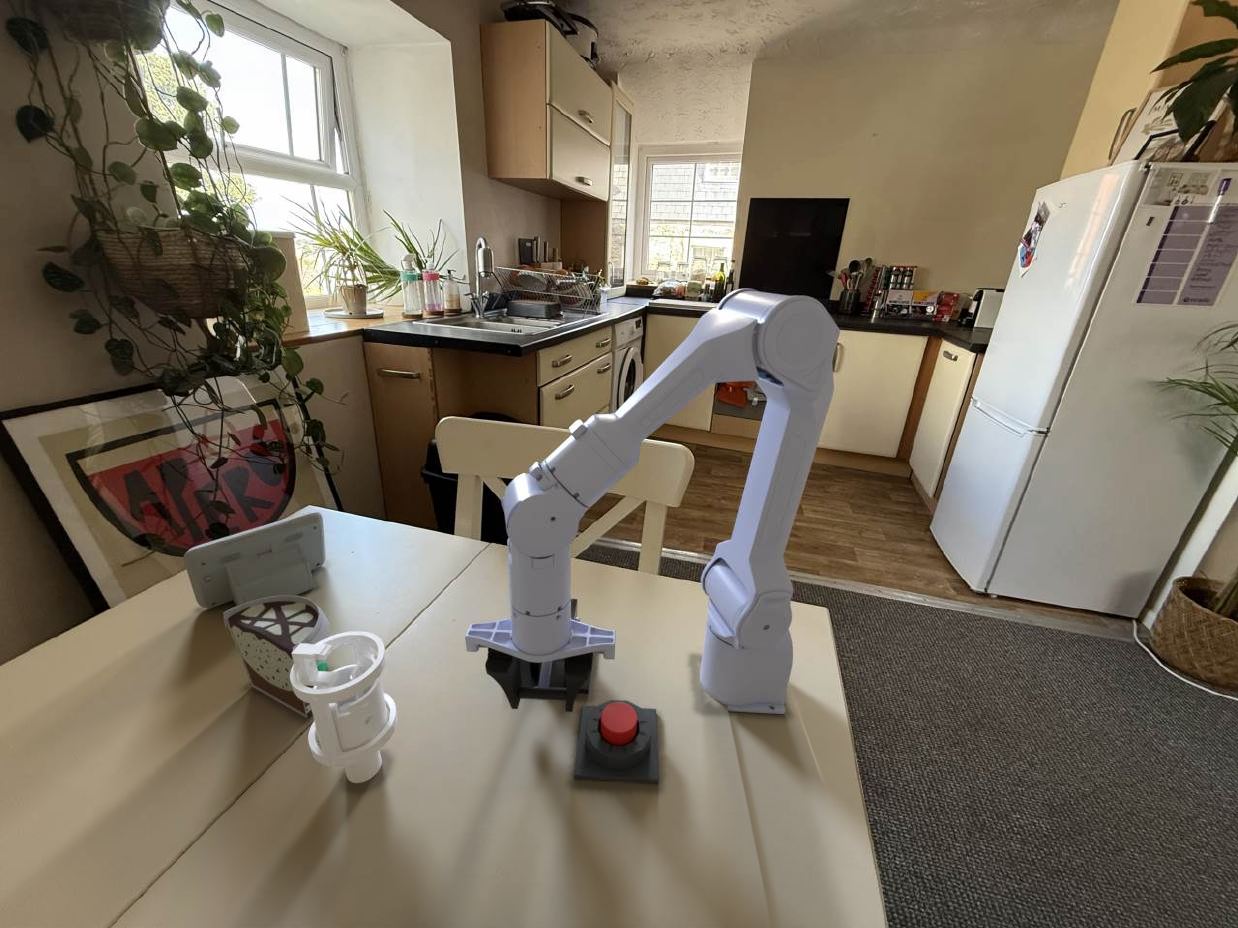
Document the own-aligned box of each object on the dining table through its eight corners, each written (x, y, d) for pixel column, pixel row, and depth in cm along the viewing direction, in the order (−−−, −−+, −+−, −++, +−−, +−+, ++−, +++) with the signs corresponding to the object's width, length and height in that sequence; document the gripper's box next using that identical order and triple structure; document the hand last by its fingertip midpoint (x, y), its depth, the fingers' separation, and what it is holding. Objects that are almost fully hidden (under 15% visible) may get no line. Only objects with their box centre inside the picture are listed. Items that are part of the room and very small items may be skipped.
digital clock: (329, 558, 79) (316, 499, 75) (340, 587, 73) (326, 524, 69) (200, 594, 70) (177, 529, 66) (199, 631, 64) (173, 561, 59)
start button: (636, 715, 51) (637, 702, 51) (636, 746, 48) (637, 733, 47) (601, 713, 51) (602, 700, 51) (599, 744, 48) (599, 731, 47)
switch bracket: (588, 697, 56) (589, 636, 53) (509, 693, 56) (505, 632, 53) (594, 646, 64) (595, 590, 60) (524, 642, 64) (521, 586, 60)
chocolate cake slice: (367, 682, 57) (352, 612, 53) (317, 723, 52) (296, 649, 48) (296, 647, 62) (277, 580, 58) (243, 681, 56) (219, 611, 53)
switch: (566, 704, 52) (565, 695, 50) (519, 702, 52) (516, 692, 50) (577, 617, 59) (576, 607, 57) (535, 615, 59) (533, 605, 57)
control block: (655, 716, 54) (657, 695, 53) (658, 788, 47) (660, 766, 46) (582, 712, 54) (582, 691, 53) (574, 783, 47) (574, 761, 46)
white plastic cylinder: (348, 736, 51) (319, 619, 45) (417, 740, 50) (396, 622, 45) (306, 807, 44) (266, 680, 38) (384, 811, 44) (356, 684, 38)
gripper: (618, 575, 50) (614, 676, 56) (476, 568, 51) (485, 669, 56) (615, 622, 44) (611, 731, 49) (453, 613, 44) (465, 723, 49)
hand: (543, 702), depth 52 cm, fingers closed on switch, 5 cm apart
